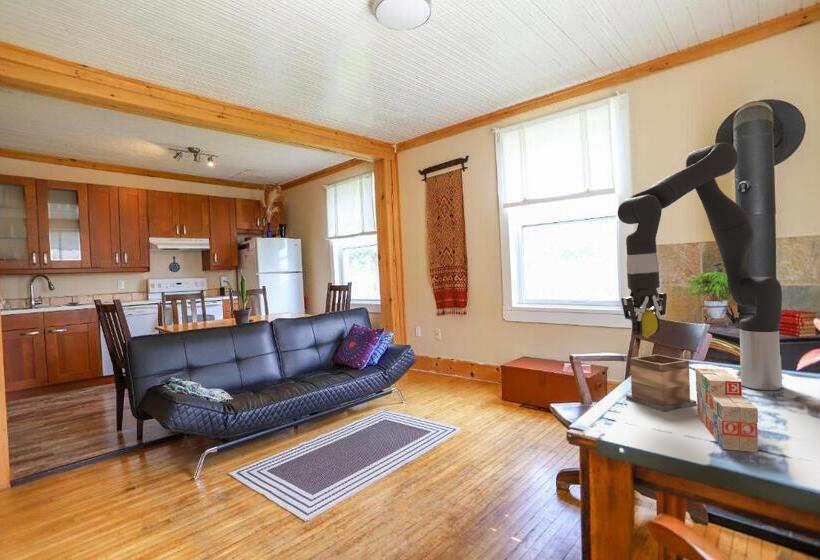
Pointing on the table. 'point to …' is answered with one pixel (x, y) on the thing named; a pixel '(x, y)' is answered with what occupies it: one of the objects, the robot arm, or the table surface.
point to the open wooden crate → (660, 382)
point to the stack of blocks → (726, 410)
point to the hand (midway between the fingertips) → (646, 333)
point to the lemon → (648, 323)
